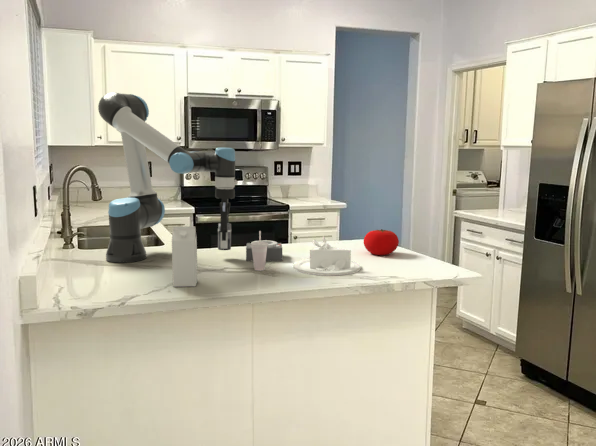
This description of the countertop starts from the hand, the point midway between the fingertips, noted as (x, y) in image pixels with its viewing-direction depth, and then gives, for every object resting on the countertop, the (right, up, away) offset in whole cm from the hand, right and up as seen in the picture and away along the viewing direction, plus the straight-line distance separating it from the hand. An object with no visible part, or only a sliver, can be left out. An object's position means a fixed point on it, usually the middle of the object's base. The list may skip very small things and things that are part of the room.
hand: (224, 246), depth 219 cm
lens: (0, -1, 0) cm, 1 cm away
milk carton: (-8, -11, -38) cm, 40 cm away
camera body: (+15, -5, +3) cm, 16 cm away
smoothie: (+15, -8, -17) cm, 24 cm away
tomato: (+63, -4, +12) cm, 64 cm away
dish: (+39, -8, -13) cm, 42 cm away
